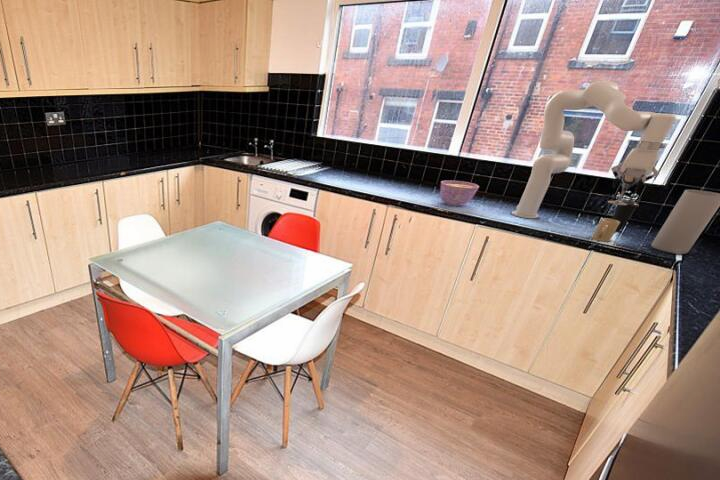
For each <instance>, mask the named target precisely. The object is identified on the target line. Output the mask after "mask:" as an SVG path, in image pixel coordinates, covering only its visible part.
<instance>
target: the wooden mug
mask: <svg viewBox="0 0 720 480" xmlns="http://www.w3.org/2000/svg"><path fill="white" fill-rule="evenodd" d="M619 224H620V221H618V220H614V219H612V218H608V217H607V218H606V217H603V218H602V217H601V219H600V220H599V222H598V224H597V226H596V228H595V230H594V231H593V233H592V235H591V239H592V240H595V241H599V242H610V241H611V240H612V238H613V237H614V234H615V233H616V232H615V231H616V229H617V227H618V226H619Z"/></svg>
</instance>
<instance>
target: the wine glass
mask: <svg viewBox="0 0 720 480" xmlns="http://www.w3.org/2000/svg"><path fill="white" fill-rule="evenodd" d="M645 172H646V170H636V169H629V168H626V169H625V171H624V172H623V173H622V175H621V177H620V178H619V179H620V180H619V183H620V185H621V192H620V195H619V196H618V198H617V199H615V200H608V201H607V203H609V204H612V205H617V206H618V205H627V204H626V203H623V202H621V201H622V200H621V199H622V197H623V195H624V194H625V193H626V192H627V191H628V190H629V189H630V188H632V187H634V186H637V185H638V183H639V182H640V181H641V180H642V178H643V177H644V174H645Z"/></svg>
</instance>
